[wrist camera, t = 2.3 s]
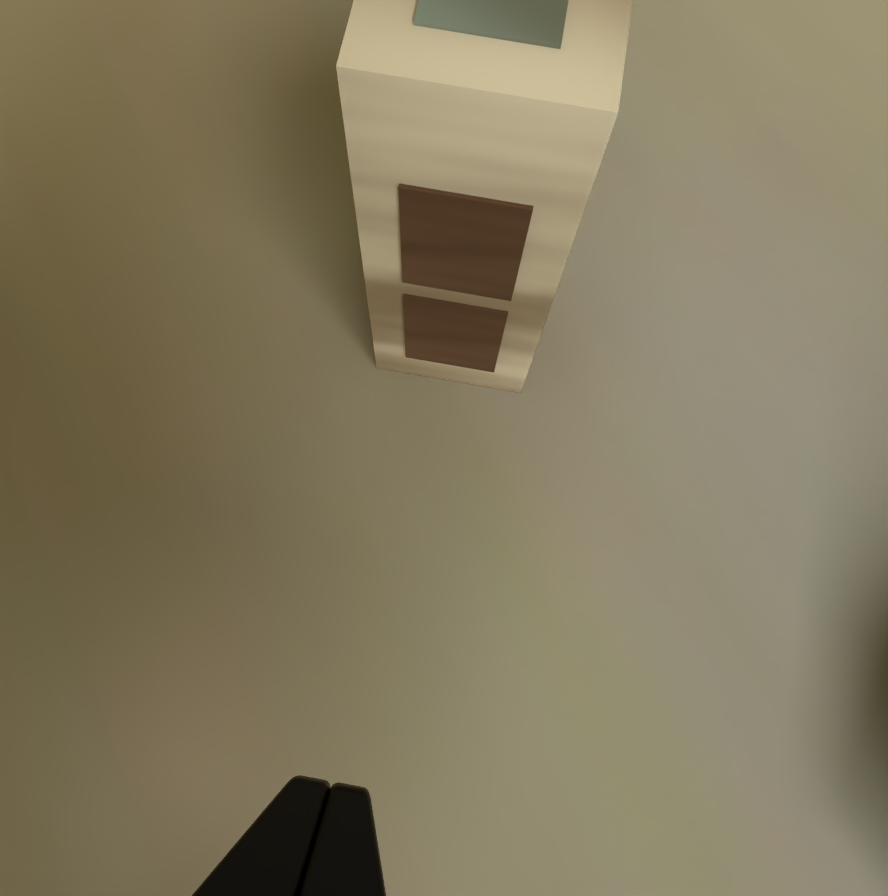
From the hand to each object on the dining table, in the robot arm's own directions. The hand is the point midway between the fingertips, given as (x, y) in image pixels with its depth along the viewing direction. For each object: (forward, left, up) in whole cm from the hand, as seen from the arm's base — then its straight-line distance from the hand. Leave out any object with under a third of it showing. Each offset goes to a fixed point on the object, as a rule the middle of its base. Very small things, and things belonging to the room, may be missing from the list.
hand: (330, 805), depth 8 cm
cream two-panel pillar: (+11, +5, -13) cm, 18 cm away
